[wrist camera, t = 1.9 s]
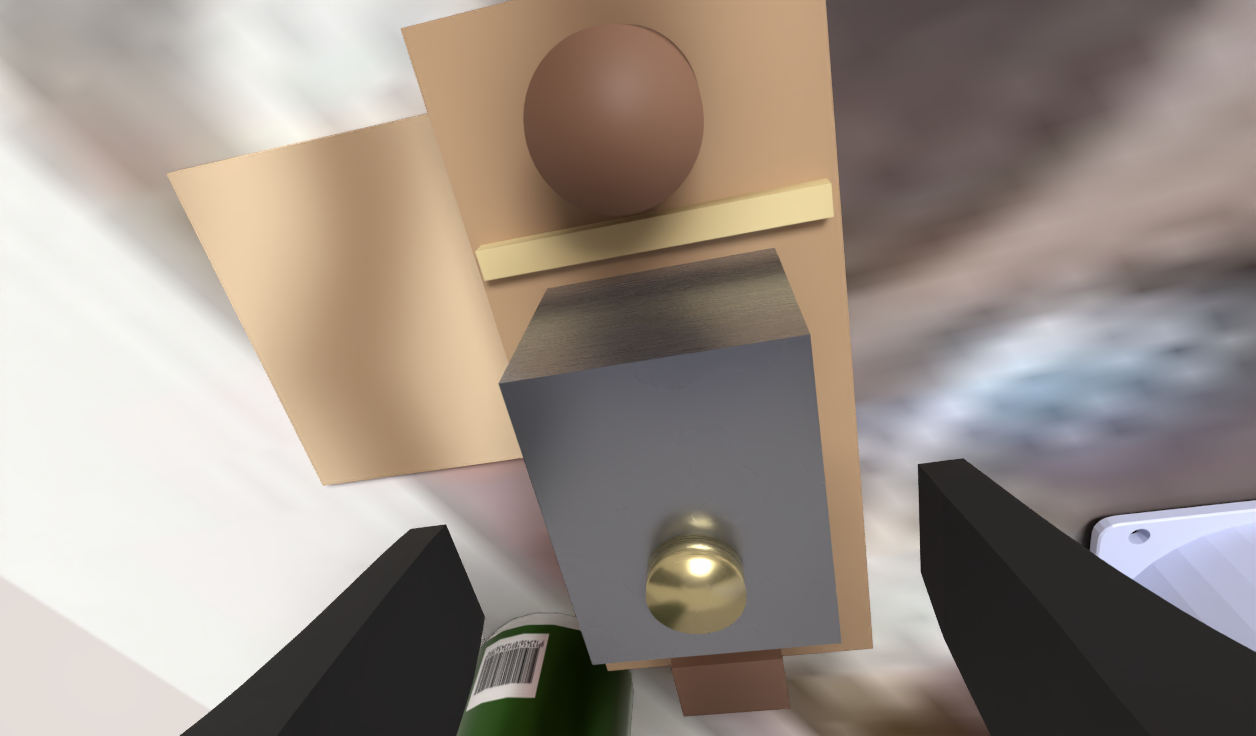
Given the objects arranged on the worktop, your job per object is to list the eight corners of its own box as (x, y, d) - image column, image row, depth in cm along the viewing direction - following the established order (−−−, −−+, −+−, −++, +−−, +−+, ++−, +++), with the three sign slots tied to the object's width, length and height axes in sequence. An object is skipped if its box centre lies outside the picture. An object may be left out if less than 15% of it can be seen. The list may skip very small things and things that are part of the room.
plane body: (791, -57, 13) (855, -103, 8) (847, 564, 20) (899, 735, 15) (453, 27, 14) (336, 29, 9) (617, 589, 21) (598, 755, 16)
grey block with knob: (774, 247, 13) (818, 353, 9) (805, 499, 15) (849, 671, 11) (546, 288, 13) (488, 404, 9) (612, 522, 16) (589, 693, 12)
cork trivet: (454, 107, 15) (448, 109, 15) (557, 444, 19) (555, 453, 18) (177, 170, 16) (165, 173, 16) (329, 477, 20) (322, 485, 20)
